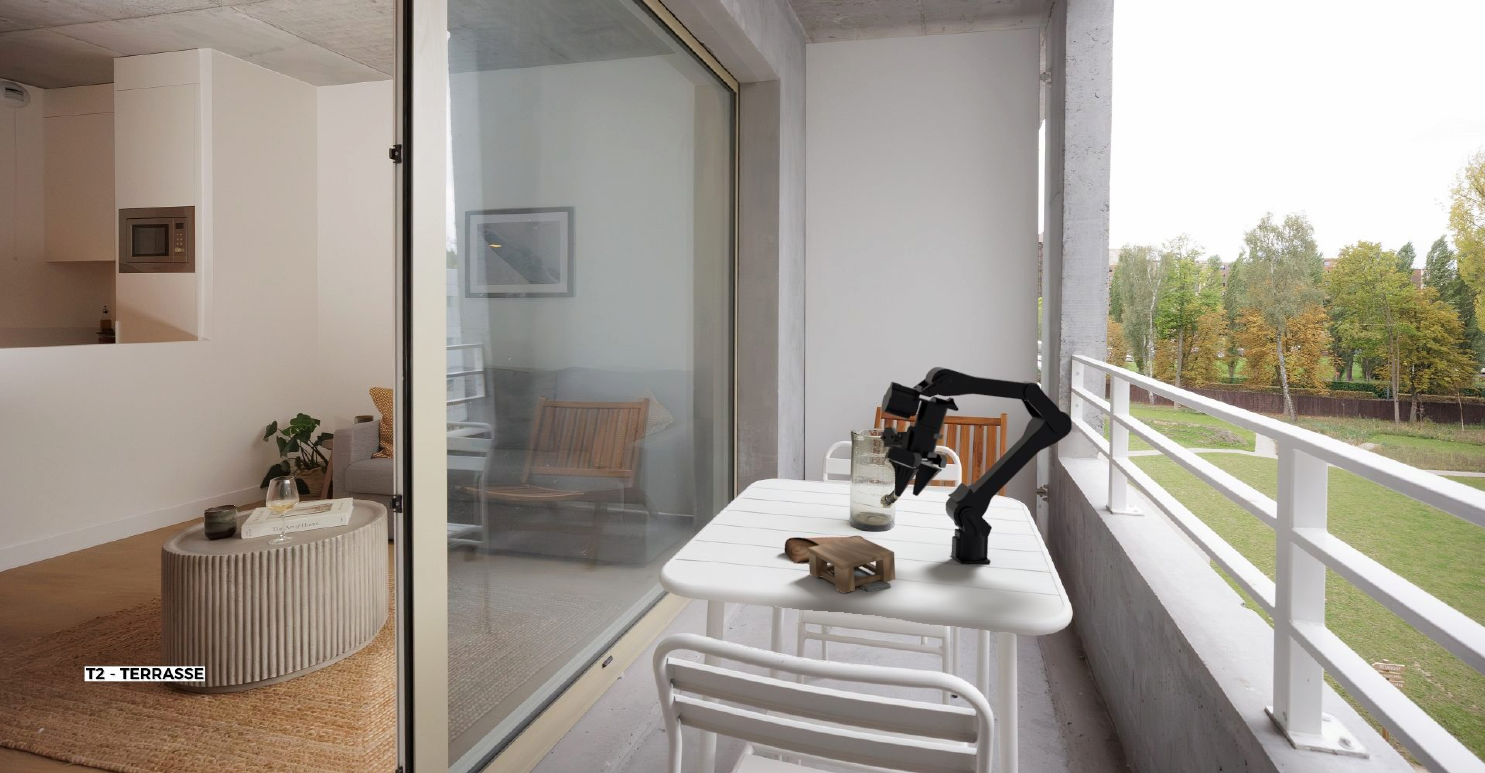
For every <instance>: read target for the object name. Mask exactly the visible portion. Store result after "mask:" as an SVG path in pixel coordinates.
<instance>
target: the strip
mask: <svg viewBox="0 0 1485 773" xmlns="http://www.w3.org/2000/svg"><path fill="white" fill-rule="evenodd" d="M832 573H834V574H835V570H833V572H832ZM872 574H873V573H870V572H868V571H866V570H864V569H863V568H861V567H858V568H855V567H854V579H857V578H861V577H865V576H868V575H872ZM859 586H860V587H859ZM859 586H858V587H859V588H861V587H862V588H861V589H863V588H864V589H866V590H867V592H868V591H869V592H873V591H872V590H875V591H878V590H877V589H880V590H884V589H883V588H886V589H890V588H891V583H889V581H888V582H883V581H881V580H878V581H874V582H870V583H866V584H863V585H859ZM864 589H863V590H864ZM866 590H865V591H866Z"/></svg>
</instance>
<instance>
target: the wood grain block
mask: <svg viewBox="0 0 1485 773" xmlns="http://www.w3.org/2000/svg"><path fill="white" fill-rule="evenodd" d="M855 536H856V537H852V538H848V539H843V540H839V541H835V542H831V543H826V544H822V545H818V546H814V547H809V548H808V551H809V564H808V565H809V575H810V574H811V575H810V576H812V577H814V578H815V577H816V579H818V577H819V578H824V579H825V580H827V581H829V582H830V583H832V584H834V587H835V588H836V589H838V590H839V591H838V590H837V591H838V592H840V591H841V592H843V593H842V594H845V593H844V592H847V593H850V591H851V592H854V591H855V590H856V589H855V588H856V587H859V585H863V584H866V583H870V582H874V581H878V580H881V581H883V582H888V583H889V582H891V581H894V580H896V569H895V568H896V564H895V560H896V559H895V551H894V550H891V549H888V548H886V547H884V546H882V545H879V544H878V543H876V542H873V541H870V540H868V539H866V538H864V537H863V536H861V535H855ZM860 536H861V537H860ZM862 537H863V538H862ZM873 563H875V564H873ZM854 567H855V568H858V567H859V568H861V567H862V569H863V568H864V569H865V570H867V571H870V572H872V573H871V574H872V575H868V576H865V577H861V578H857V579H854ZM833 570H835V573H834V574H833V573H831V572H832V571H833ZM836 589H835V590H836ZM841 592H840V593H841Z"/></svg>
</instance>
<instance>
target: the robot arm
mask: <svg viewBox="0 0 1485 773" xmlns="http://www.w3.org/2000/svg"><path fill="white" fill-rule="evenodd" d="M965 395H977V396H978V395H980V396H987V397H995V398H1006V399H1013V400H1014V399H1016V400H1020V401H1021V402H1022V404H1023V406H1024V408H1025V409H1026V411H1027V413H1028V414H1029V415H1030V417H1031V419H1030V420H1029V421H1028V423H1027V425H1026V427H1025V430H1024V432H1023V434H1022V436H1021V437H1020V438H1019V439H1018V440H1017V441H1016V442H1015V443H1014V444H1013V445H1012V446H1011V447H1010V448H1009V449H1008V450H1007V451H1006V452H1005V453H1004V454H1003V455H1002V456H1001V457H1000V458H999V459H998V460H997V461H996V462H995V463H993V465H992V466H991V467H990V468H989V469H988V470H987V471H986V472H985V473H983V475H982V476H981V477H980V478H979V479H978V480H976V481H975V482H974V483H972V484H970V485H966V484H965V483H963V482H961V483H960V484H959V485H958V486H957V487H956V488H955V489H954V491H952V492H951V493H949V494H948V497H949V498H948V499H947V500H946V503H945V511H946V515H947V516H948V517H949V518H950V519H951V520H952V521H953V522H954V526H956V527H957V528H954V535H952V537H951V553H950V556H952V557H953V558H955V560H956V561H958V562H959V563H960V564H991V559H989V558H988V554H989V552H988V550H989V549H988V548H989V547H988V546H989V536H990V534H991V530H992V526H991V524H990V523H988V522H987V520H986V519H985V518H983V517H984V515H985V513H987V511H988V509H989V506H990V504H991V501H992V499H993V498H994V497H995V496H996V495H997V494H998V492H1000V491H1001V490H1002V489H1003V488H1004V487H1005V486H1006V485H1007V484H1008V483H1009V482H1010V481H1011V480H1012V479H1013V478H1014V477H1015V476H1016V475H1017V474H1018V473H1019V472H1020V471H1021V470H1022V469H1023V468H1024V467H1025V466H1026V465H1027V464H1028V463H1029V462H1030V461H1032V459H1034V457H1035V456H1036V455H1037V454H1039V452H1041V451H1043V450H1045V449H1047V448H1049V447H1051V446H1053V445H1055V444H1057V443H1059V442H1060V441H1061V440H1062V439H1064V438H1066V437H1067V436H1068V435H1069V434H1070V433H1071V432H1072V429H1073V427H1072V424H1073V421H1072V419H1071V417H1070V415H1068V414H1067V413H1066V412H1065V411H1061V410H1060V408H1059V407H1058V405H1056V403H1054V402H1053V401H1052V399H1050V398H1049V396H1047V394H1045V392H1044V391H1043V390H1042V388H1041V386H1040V385H1039V384H1037V382H1036V383H1035V382H1031V381H1026V380H1024V381H1018V380H1016V381H1015V380H1008V379H1001V378H1000V379H999V378H993V377H991V378H990V377H983V376H982V377H981V376H974V375H970V374H966V373H963V372H960V371H957V370H953V369H950V368H946V367H941V366H936V367H932V368H931V369H930V370H928V372H927V373H926V375H925V378H924V379H923V380H921V381H920V382H919V383H917V384H915V386H913V387H909V386H906V385H902V384H900V383H899V382H896V381H891V382H890V385H889V387H888V388H887V390H886V392H885V394H884V395H883V397H882V401H881V408H880V410H881V413H884V414H887V415H891V416H894V417H898V418H901V419H905V420H909V419H910V418H911V417H915V419H914V423H913V425H909V426H908V427H907V430H906V431H897V429H896V427H893V426H888V427H886V426H885V427H884V430H883V432H881V436H880V440H881V441H883V448H888V449H887V452H886V456H885V458H887V459H888V460H887V461H888V463H890V465H891V466H892V467H893V468H892V469H894V496H896V497H898V498H900V497H902V494H904V492H905V491H906V489H907V487H909V485H910V484H911V482H912V480H913V479H914V482H913V489H912V495H913V496H916V497H918V496H919V495H920V494H921V493H922V492H923V490H925V488H926V487H927V486H928V485H929V484H930V483H931V481H933V479H935V477H937V475H938V474H939V473H940V472H942V471H943V469H946V467H947V463H948V458H947V456H946V454H943V453H942V452H939V451H936V448H937V446H938V442H939V440H942V439H943V437H944V434H942V433H941V432H942V429H943V425H944V424H945V419H946V416H947V412H948V410H951V411H954V412H958V411H959V407H958V406H957V404H956V402H955V398H953V397H956V396H957V397H959V396H965ZM920 396H923V397H927V398H930V399H926V398H923V397H920ZM937 396H942V397H948V398H946V399H944V398H941V397H937Z"/></svg>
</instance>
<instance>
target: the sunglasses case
mask: <svg viewBox="0 0 1485 773" xmlns="http://www.w3.org/2000/svg"><path fill="white" fill-rule="evenodd" d="M856 536H857V535H852V536H851V535H850V536H830V537H829V536H827V537H823V536H822V537H800V536H797V537H789V538H787V539H786V541H785V543H784V554H786V556H787V557H788V558H789V559H790V561H791V562H792V563H793V564H796V565H797V564H805V563H806V562H809V551H808V548H809V547H814V546H818V545H822V544H826V543H831V542H835V541H839V540H843V539H848V538H852V537H856ZM859 536H860V537H862V538H864V537H863V536H861V535H859ZM806 564H807V563H806Z"/></svg>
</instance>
